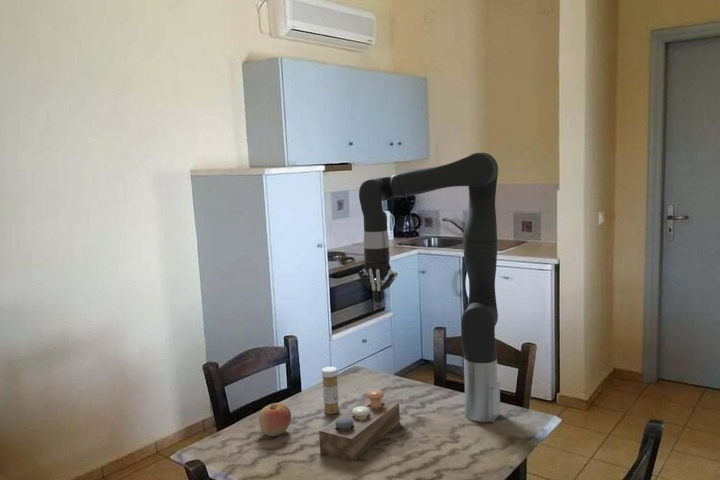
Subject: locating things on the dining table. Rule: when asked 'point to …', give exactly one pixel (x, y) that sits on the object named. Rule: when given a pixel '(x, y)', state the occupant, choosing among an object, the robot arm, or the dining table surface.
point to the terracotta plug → (375, 398)
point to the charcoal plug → (344, 424)
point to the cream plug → (360, 412)
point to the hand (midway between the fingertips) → (378, 302)
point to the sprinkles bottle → (330, 390)
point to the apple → (274, 419)
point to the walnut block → (359, 430)
